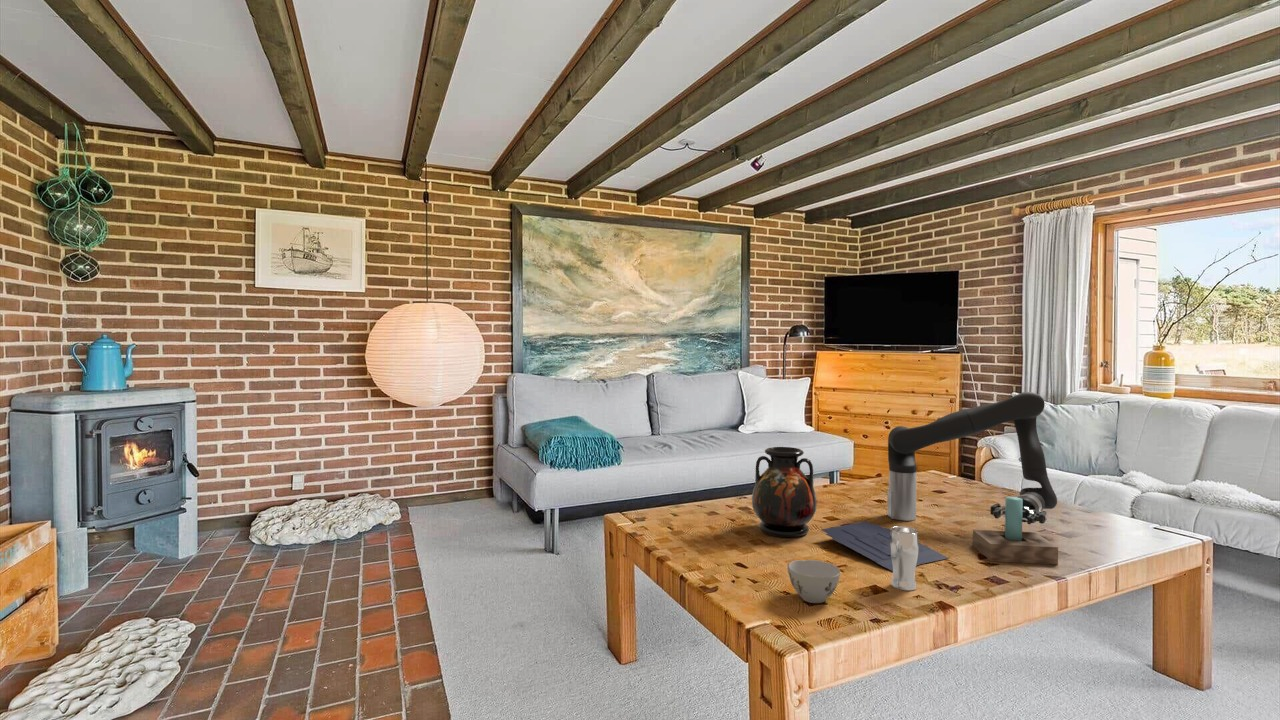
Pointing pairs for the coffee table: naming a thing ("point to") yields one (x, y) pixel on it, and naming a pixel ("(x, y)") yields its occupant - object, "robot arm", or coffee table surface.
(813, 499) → the amphora vase
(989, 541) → the walnut block
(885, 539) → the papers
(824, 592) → the teacup
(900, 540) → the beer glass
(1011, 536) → the teal pin
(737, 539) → the coffee table surface
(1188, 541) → the coffee table surface
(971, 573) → the coffee table surface
